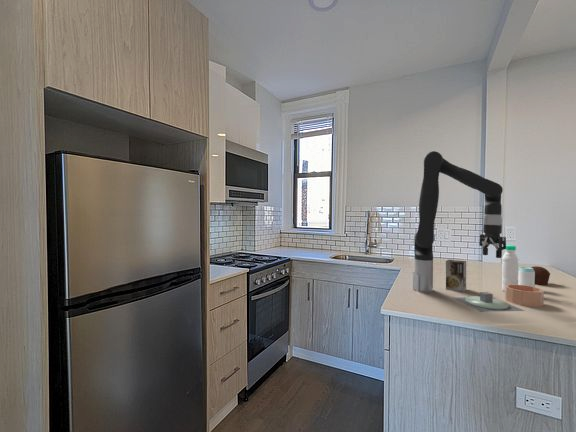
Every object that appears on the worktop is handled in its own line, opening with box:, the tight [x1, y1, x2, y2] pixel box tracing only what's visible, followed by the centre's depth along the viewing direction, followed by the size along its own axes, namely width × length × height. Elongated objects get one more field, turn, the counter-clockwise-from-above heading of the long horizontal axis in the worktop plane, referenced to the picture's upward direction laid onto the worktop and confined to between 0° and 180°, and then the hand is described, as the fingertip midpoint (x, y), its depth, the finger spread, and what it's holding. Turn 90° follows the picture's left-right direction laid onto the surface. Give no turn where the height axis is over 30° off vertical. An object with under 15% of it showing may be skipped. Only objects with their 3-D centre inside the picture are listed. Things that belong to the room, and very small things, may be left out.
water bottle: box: [501, 244, 519, 292], centre depth 160 cm, size 7×7×25 cm
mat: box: [453, 296, 526, 312], centre depth 138 cm, size 20×20×1 cm
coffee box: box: [445, 259, 467, 292], centre depth 164 cm, size 9×6×16 cm
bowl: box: [504, 284, 545, 308], centre depth 141 cm, size 14×14×7 cm
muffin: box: [530, 266, 551, 286], centre depth 178 cm, size 12×11×10 cm
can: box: [518, 266, 536, 287], centre depth 165 cm, size 7×7×12 cm
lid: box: [465, 291, 509, 310], centre depth 138 cm, size 17×17×5 cm
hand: (491, 256), depth 146 cm, fingers open, 8 cm apart
